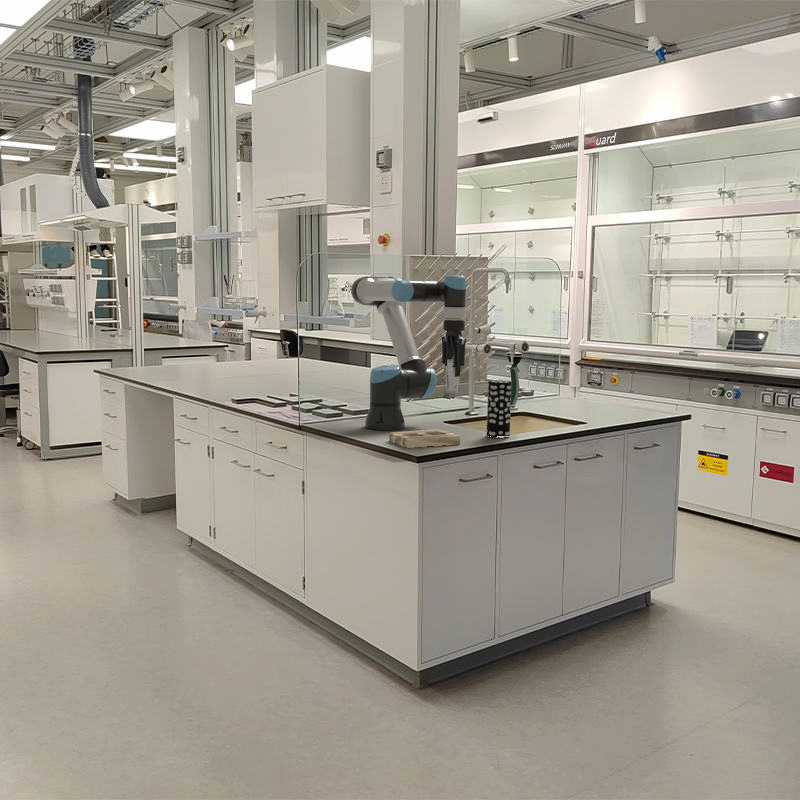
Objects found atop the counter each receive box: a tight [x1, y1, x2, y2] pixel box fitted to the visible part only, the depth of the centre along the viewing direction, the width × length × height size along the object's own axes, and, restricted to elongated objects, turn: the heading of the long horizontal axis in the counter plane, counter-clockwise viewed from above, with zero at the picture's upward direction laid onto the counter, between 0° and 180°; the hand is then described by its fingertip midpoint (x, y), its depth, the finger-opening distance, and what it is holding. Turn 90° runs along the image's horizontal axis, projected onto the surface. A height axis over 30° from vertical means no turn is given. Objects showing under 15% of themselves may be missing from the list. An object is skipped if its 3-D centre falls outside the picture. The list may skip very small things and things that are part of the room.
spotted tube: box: [486, 379, 513, 438], centre depth 285 cm, size 8×8×20 cm
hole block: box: [388, 428, 461, 449], centre depth 272 cm, size 14×20×3 cm
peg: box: [446, 359, 459, 394], centre depth 284 cm, size 4×4×12 cm
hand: (452, 384), depth 285 cm, fingers closed on peg, 4 cm apart
